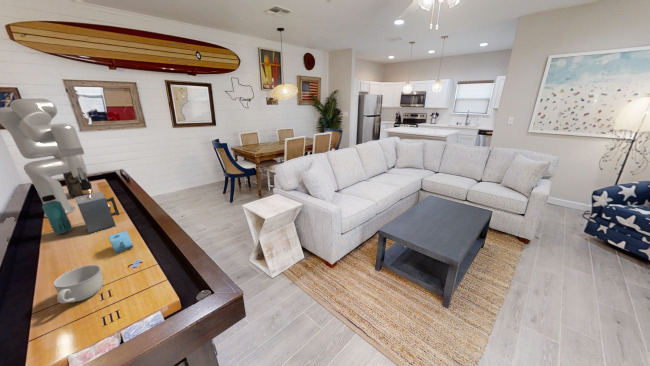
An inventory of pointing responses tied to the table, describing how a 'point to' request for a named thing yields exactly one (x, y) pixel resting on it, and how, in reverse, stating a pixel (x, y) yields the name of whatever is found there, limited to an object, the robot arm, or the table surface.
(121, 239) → the printed blue cube
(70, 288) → the teacup
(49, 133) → the robot arm
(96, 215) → the coffee press
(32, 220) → the table surface
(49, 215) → the beverage bottle
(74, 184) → the owl
